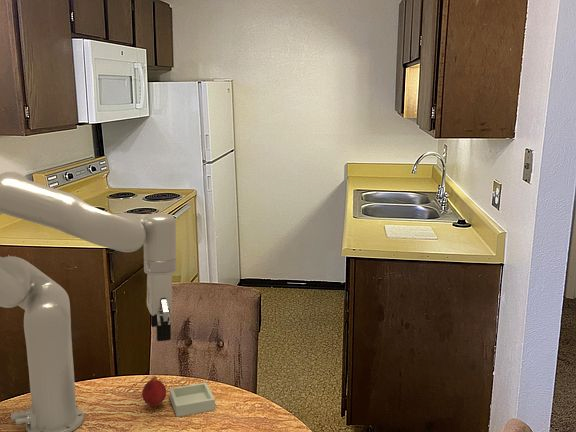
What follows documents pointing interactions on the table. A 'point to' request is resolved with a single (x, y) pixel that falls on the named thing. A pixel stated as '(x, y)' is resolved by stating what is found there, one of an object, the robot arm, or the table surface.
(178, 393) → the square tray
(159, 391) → the onion
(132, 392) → the table surface
